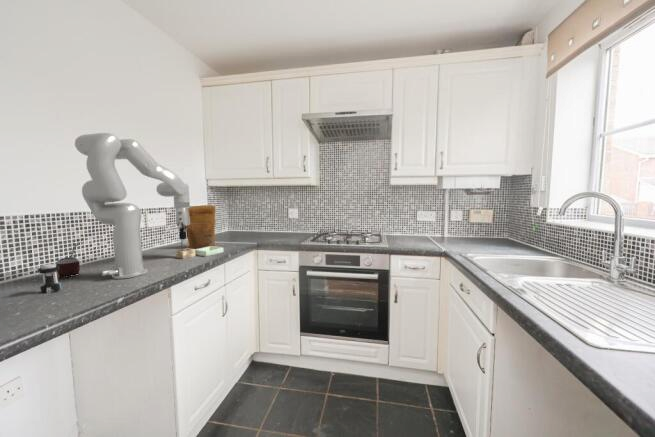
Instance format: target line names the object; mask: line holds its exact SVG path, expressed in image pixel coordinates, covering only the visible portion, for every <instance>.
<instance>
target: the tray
mask: <svg viewBox="0 0 655 437" xmlns="http://www.w3.org/2000/svg"><path fill="white" fill-rule="evenodd" d="M224 251H225V250H224V247H223V246H222V247H221V246H209V247H204V248H199V249H195V256H198V257H199V256H200V257H205V258H207V257H211V256H215V255H219V254H223V253H225V252H224Z"/></svg>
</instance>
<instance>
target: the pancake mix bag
mask: <svg viewBox="0 0 655 437" xmlns="http://www.w3.org/2000/svg"><path fill="white" fill-rule="evenodd" d="M188 209H189V215H190V225H188V226H187V229H188V238H187V243H188V248H190V249H199V248H204V247H209V246H215V247H217V245H216V243H215V242H216V241H215V235H216V234H215V230H216V229H215V227H216V206H215V205H197V206H190V208H188Z"/></svg>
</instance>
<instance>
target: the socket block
mask: <svg viewBox="0 0 655 437" xmlns="http://www.w3.org/2000/svg"><path fill="white" fill-rule="evenodd" d="M194 257H196V255H195V249H190V248H189V247H187V248H186V247H185V248H183V249H178V250H175V258H177V259H181V260H184V259H185V260H187V259H189V258H194Z"/></svg>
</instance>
